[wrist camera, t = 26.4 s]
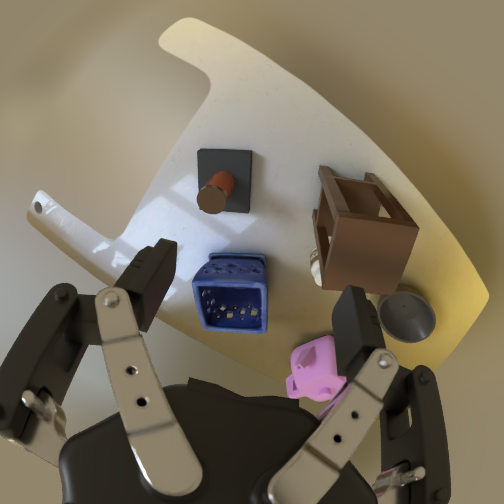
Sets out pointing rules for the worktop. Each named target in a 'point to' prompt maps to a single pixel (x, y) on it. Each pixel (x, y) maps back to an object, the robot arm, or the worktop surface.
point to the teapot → (314, 371)
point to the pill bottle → (315, 266)
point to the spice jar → (216, 193)
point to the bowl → (406, 315)
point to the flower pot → (232, 292)
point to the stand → (361, 234)
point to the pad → (233, 164)
